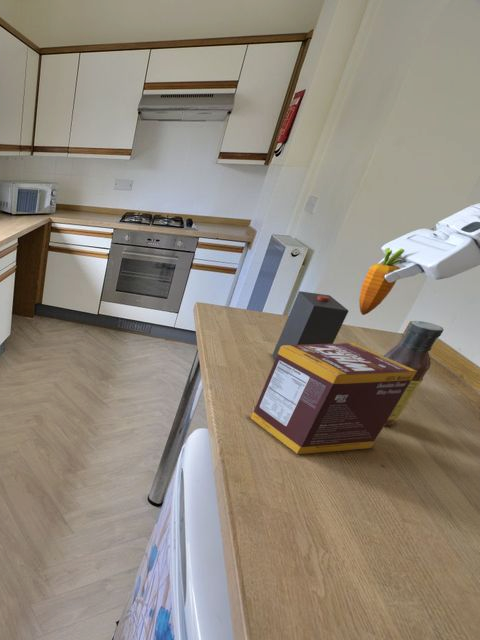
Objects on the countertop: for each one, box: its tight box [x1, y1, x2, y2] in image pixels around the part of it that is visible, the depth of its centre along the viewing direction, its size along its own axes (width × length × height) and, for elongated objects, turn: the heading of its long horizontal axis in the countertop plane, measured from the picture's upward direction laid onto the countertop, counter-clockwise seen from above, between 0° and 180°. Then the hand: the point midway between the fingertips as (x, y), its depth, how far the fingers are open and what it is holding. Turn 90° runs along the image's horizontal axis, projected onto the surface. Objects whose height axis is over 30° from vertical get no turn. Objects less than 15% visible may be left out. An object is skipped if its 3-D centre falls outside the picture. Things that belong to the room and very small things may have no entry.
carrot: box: [358, 248, 405, 316], centre depth 88 cm, size 5×5×15 cm
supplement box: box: [250, 342, 417, 455], centre depth 71 cm, size 10×15×16 cm
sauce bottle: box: [383, 320, 444, 426], centre depth 75 cm, size 7×6×20 cm
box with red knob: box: [271, 290, 349, 360], centre depth 92 cm, size 18×11×18 cm, turn 67°
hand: (378, 275), depth 87 cm, fingers closed on carrot, 5 cm apart
